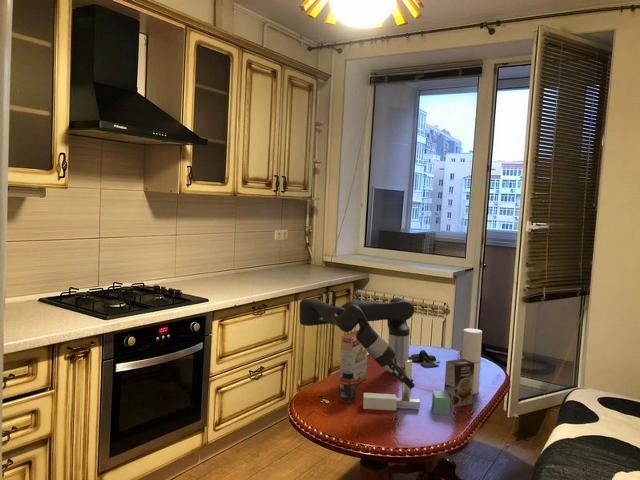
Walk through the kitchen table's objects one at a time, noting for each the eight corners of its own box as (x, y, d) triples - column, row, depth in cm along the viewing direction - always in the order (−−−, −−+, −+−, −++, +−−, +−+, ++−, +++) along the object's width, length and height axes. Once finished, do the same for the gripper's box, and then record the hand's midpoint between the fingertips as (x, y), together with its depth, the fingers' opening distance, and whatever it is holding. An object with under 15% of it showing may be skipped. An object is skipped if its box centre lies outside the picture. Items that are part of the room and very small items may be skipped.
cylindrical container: (479, 394, 207) (483, 333, 205) (461, 392, 208) (464, 331, 207) (477, 388, 214) (481, 329, 212) (460, 386, 215) (463, 327, 214)
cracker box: (351, 389, 208) (353, 338, 207) (338, 386, 212) (340, 335, 210) (367, 379, 220) (369, 331, 219) (354, 376, 224) (356, 329, 222)
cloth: (435, 371, 236) (435, 358, 236) (397, 363, 246) (398, 351, 246) (450, 360, 255) (451, 347, 255) (415, 353, 265) (415, 341, 264)
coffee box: (454, 407, 193) (456, 365, 191) (443, 401, 198) (445, 360, 197) (472, 404, 197) (475, 362, 196) (461, 398, 202) (463, 357, 201)
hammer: (366, 405, 190) (367, 359, 188) (365, 402, 193) (367, 357, 192) (419, 408, 188) (422, 362, 187) (418, 405, 191) (420, 360, 190)
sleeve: (363, 408, 189) (363, 397, 189) (363, 403, 194) (363, 392, 193) (396, 410, 188) (396, 399, 188) (395, 405, 193) (395, 394, 193)
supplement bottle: (357, 399, 198) (358, 370, 197) (352, 405, 192) (353, 375, 191) (342, 397, 200) (343, 368, 199) (337, 402, 194) (338, 373, 193)
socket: (434, 413, 186) (435, 397, 186) (431, 406, 193) (432, 390, 193) (449, 414, 186) (450, 398, 185) (445, 407, 193) (446, 391, 192)
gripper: (372, 352, 197) (402, 384, 197) (373, 363, 183) (406, 398, 183) (386, 339, 196) (417, 371, 196) (389, 349, 182) (422, 384, 182)
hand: (411, 384), depth 189 cm, fingers open, 4 cm apart
